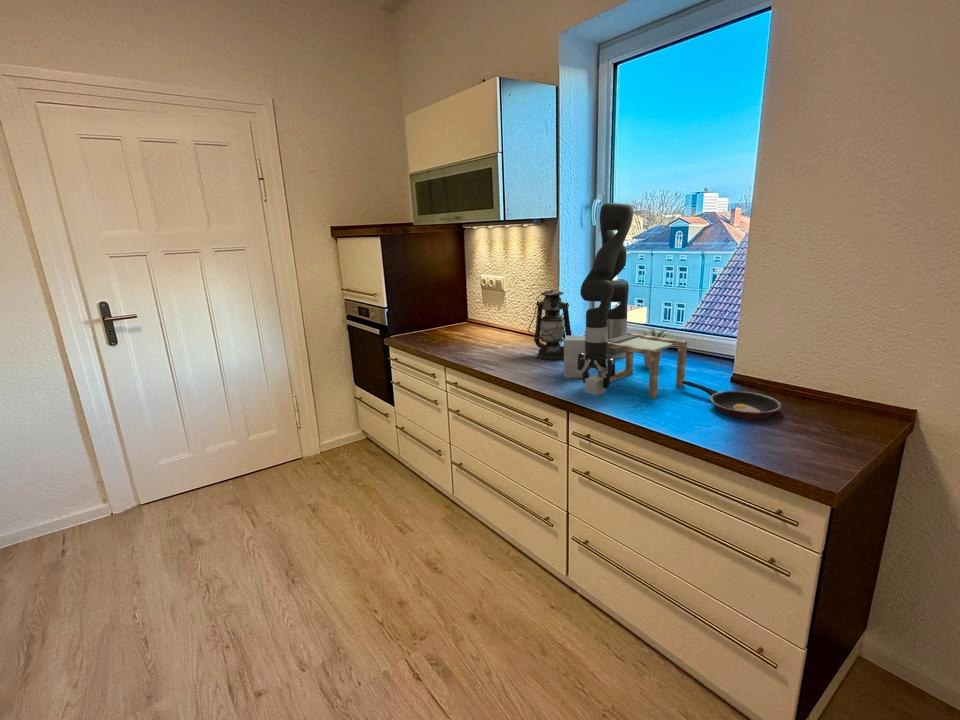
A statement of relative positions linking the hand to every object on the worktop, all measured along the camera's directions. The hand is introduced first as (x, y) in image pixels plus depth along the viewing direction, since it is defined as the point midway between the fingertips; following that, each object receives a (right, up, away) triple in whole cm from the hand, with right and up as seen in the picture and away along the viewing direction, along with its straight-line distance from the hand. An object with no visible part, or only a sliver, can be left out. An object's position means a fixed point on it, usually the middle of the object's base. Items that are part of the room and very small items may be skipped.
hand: (595, 385), depth 166 cm
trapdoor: (+16, +11, +4) cm, 20 cm away
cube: (0, -3, +1) cm, 3 cm away
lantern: (-9, +9, +47) cm, 49 cm away
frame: (+17, 0, +6) cm, 18 cm away
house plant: (+31, +6, +27) cm, 41 cm away
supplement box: (-2, +3, +22) cm, 22 cm away
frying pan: (+37, -5, -16) cm, 40 cm away
